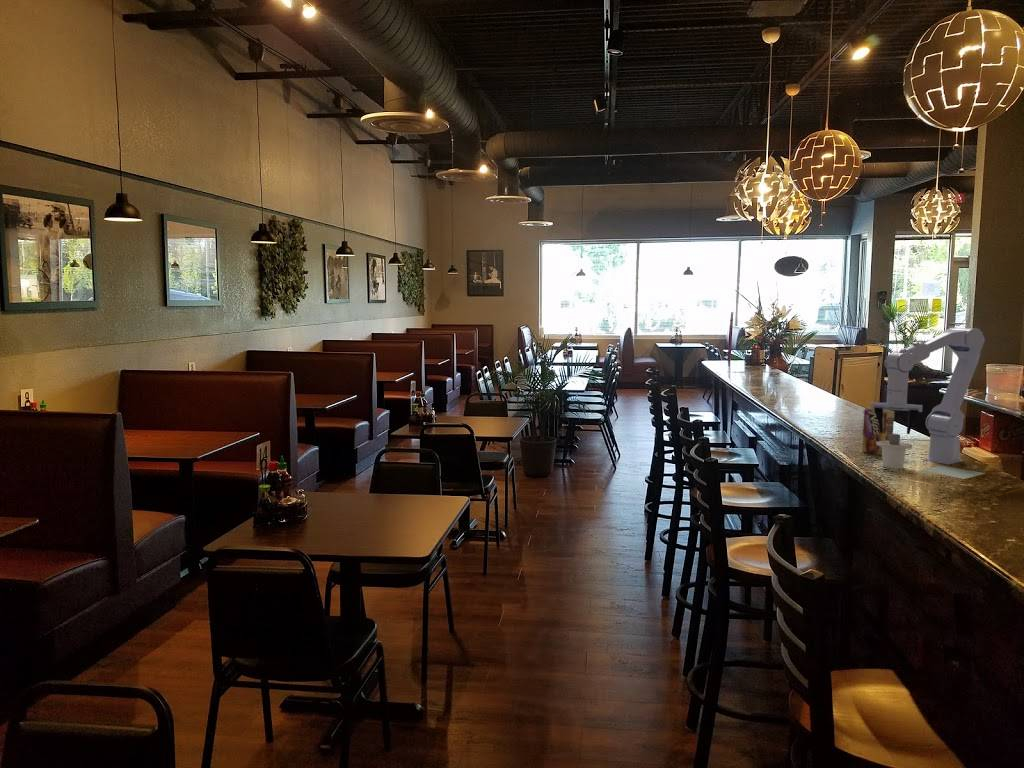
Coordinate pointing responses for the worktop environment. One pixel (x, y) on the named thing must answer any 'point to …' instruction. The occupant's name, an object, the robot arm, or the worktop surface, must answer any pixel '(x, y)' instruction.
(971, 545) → the worktop surface
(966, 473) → the mat
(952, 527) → the worktop surface
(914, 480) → the worktop surface
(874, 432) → the candy box
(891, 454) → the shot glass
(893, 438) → the lid
